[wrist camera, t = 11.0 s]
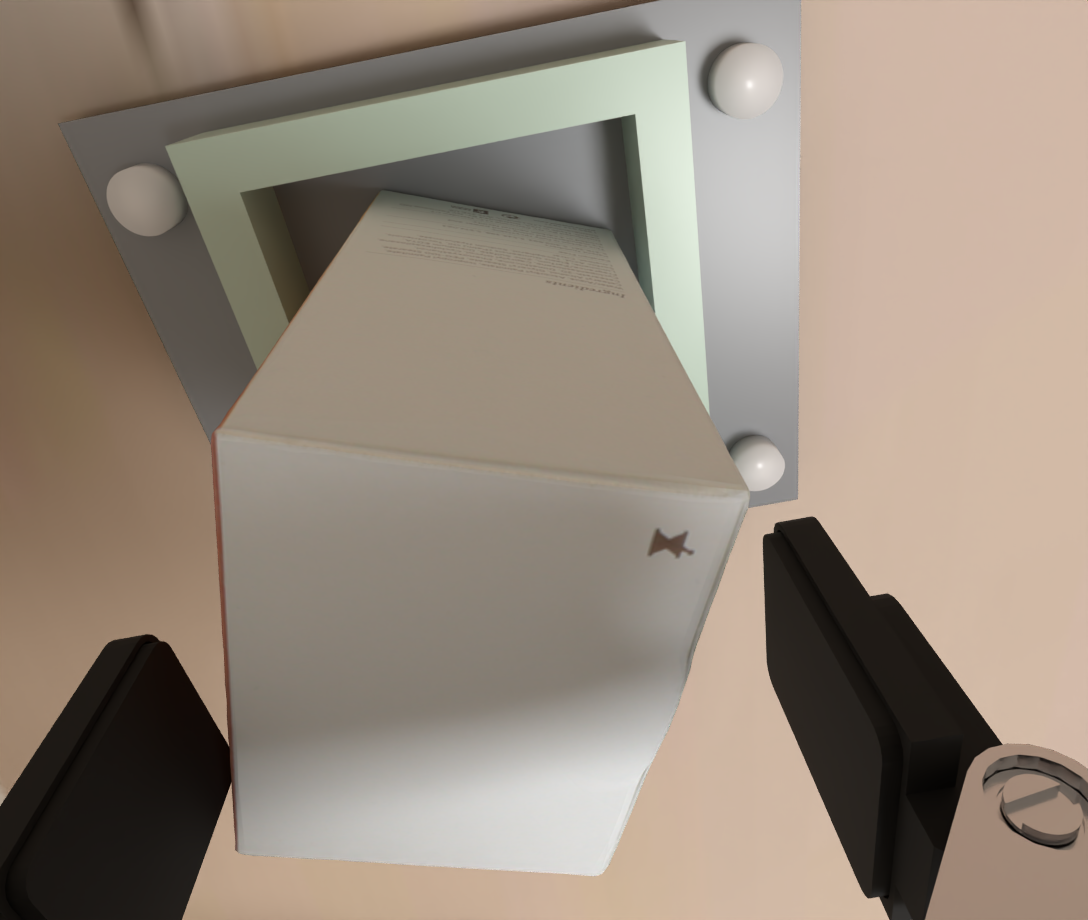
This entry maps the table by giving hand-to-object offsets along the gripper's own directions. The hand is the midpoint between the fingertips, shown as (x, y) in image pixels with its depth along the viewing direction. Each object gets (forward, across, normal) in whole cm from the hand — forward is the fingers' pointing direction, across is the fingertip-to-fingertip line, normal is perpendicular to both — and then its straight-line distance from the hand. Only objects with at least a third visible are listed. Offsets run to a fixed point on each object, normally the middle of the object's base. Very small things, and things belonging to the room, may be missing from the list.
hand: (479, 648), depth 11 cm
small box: (+12, 0, -1) cm, 12 cm away
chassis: (+13, 0, -1) cm, 13 cm away
